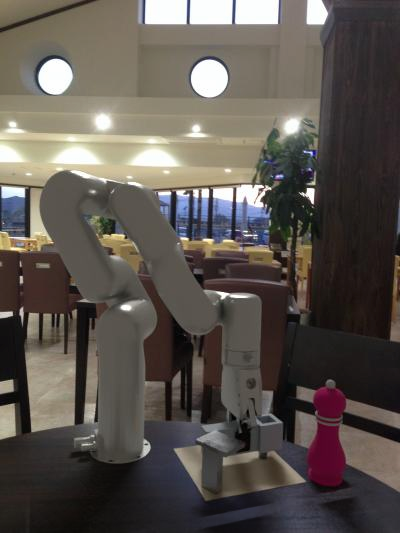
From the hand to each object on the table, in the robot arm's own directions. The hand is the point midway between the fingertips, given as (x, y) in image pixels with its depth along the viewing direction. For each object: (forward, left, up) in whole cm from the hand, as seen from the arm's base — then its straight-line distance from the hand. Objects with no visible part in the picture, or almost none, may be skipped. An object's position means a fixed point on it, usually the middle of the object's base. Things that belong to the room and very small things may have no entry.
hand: (238, 445), depth 89 cm
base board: (-1, -1, -4) cm, 5 cm away
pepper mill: (+14, -10, -5) cm, 18 cm away
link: (+1, 0, -1) cm, 1 cm away
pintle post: (+6, 0, -4) cm, 7 cm away
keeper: (-6, -6, -4) cm, 10 cm away
